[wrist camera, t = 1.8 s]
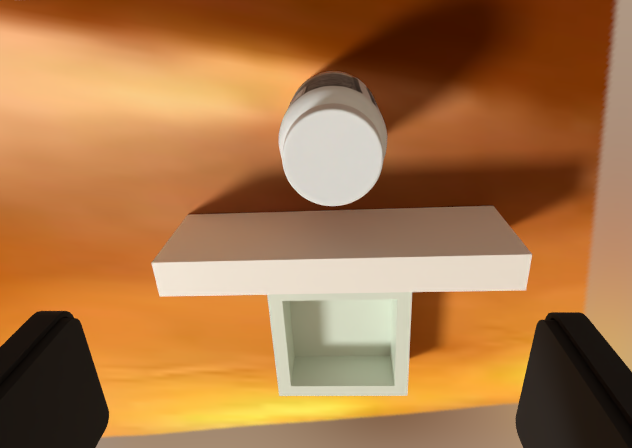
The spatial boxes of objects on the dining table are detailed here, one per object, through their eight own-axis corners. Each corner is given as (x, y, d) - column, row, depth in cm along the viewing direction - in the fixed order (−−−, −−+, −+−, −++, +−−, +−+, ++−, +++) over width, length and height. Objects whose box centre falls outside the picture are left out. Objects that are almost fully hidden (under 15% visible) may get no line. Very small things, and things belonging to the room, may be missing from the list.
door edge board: (187, 214, 33) (151, 262, 26) (493, 205, 31) (532, 254, 25) (194, 248, 34) (161, 301, 28) (488, 240, 33) (524, 295, 26)
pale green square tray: (273, 262, 34) (266, 289, 31) (405, 259, 34) (412, 286, 30) (284, 362, 38) (279, 395, 35) (401, 361, 38) (407, 395, 34)
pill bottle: (275, 132, 30) (248, 183, 21) (316, 51, 28) (305, 70, 19) (349, 171, 31) (353, 236, 22) (394, 97, 29) (419, 136, 20)
